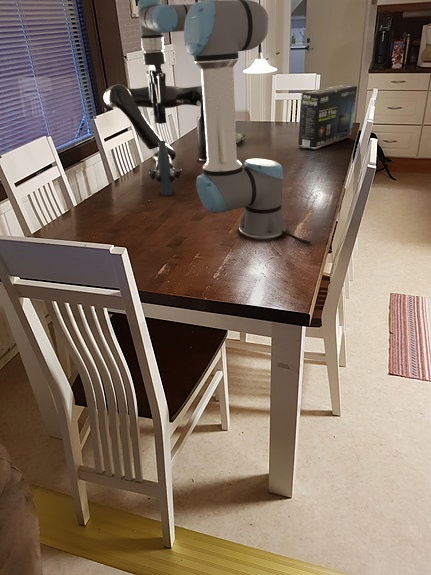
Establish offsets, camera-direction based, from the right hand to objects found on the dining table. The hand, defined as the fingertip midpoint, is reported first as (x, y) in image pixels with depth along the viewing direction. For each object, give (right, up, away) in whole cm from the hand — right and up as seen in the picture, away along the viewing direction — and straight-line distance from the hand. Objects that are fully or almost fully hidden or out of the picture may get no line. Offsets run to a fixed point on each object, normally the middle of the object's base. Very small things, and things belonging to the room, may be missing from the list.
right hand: (160, 122), depth 171 cm
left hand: (+1, -19, +9) cm, 21 cm away
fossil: (+28, +19, +84) cm, 90 cm away
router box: (+79, +16, +74) cm, 109 cm away
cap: (0, +2, -1) cm, 2 cm away
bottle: (+1, -24, +15) cm, 28 cm away
